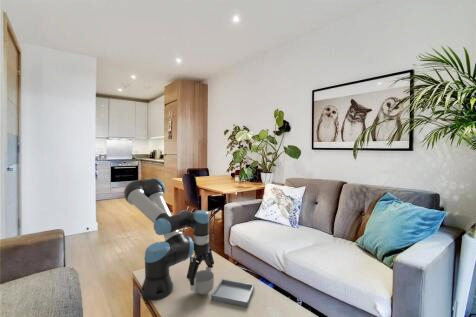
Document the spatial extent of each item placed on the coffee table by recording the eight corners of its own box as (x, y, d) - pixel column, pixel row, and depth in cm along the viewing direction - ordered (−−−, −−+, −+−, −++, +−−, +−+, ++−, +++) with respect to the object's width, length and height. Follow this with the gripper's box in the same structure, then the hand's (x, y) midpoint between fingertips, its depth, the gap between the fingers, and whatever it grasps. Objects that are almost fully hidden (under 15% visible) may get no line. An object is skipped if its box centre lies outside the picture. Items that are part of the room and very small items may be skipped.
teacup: (218, 288, 123) (218, 273, 122) (205, 300, 113) (205, 283, 113) (196, 280, 129) (196, 266, 129) (182, 291, 120) (182, 275, 119)
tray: (211, 300, 115) (211, 295, 115) (221, 283, 130) (221, 278, 130) (247, 307, 110) (247, 302, 110) (254, 289, 125) (254, 284, 125)
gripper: (190, 252, 108) (190, 300, 109) (221, 236, 128) (220, 276, 129) (178, 248, 112) (178, 294, 113) (210, 233, 132) (209, 272, 133)
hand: (201, 284), depth 121 cm, fingers closed on teacup, 11 cm apart
